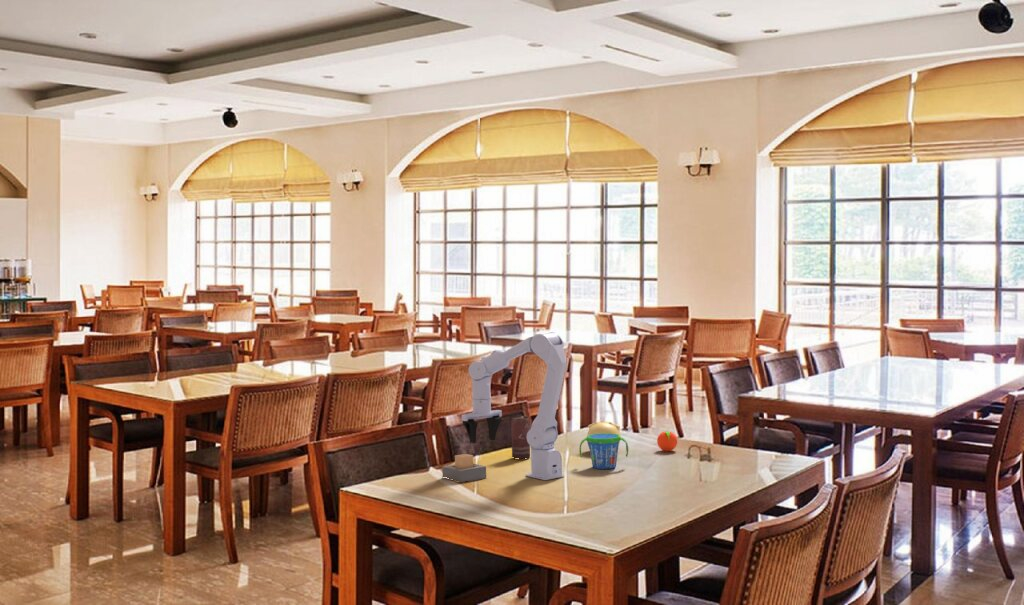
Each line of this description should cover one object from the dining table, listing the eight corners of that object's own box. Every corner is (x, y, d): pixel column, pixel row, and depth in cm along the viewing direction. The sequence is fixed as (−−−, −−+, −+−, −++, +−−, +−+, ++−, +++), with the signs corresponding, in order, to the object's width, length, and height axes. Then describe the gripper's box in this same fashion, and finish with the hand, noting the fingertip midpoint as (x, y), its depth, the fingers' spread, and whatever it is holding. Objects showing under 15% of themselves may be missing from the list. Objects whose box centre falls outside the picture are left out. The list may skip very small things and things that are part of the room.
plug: (473, 475, 303) (473, 455, 303) (462, 477, 301) (462, 457, 300) (465, 473, 306) (465, 453, 306) (455, 475, 304) (454, 455, 304)
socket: (486, 478, 303) (486, 466, 303) (460, 482, 297) (460, 470, 297) (467, 473, 310) (467, 462, 310) (442, 478, 304) (442, 466, 304)
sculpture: (622, 449, 348) (621, 418, 347) (618, 455, 336) (617, 423, 336) (590, 448, 350) (589, 418, 350) (584, 454, 339) (584, 423, 338)
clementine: (679, 453, 337) (679, 432, 337) (659, 453, 337) (658, 432, 337) (675, 449, 345) (675, 428, 345) (656, 449, 345) (655, 429, 345)
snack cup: (577, 470, 312) (577, 438, 312) (582, 463, 322) (581, 432, 322) (627, 471, 309) (626, 438, 309) (630, 464, 319) (629, 433, 319)
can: (530, 456, 337) (530, 415, 337) (529, 460, 331) (528, 418, 330) (513, 456, 338) (512, 415, 337) (511, 460, 331) (510, 418, 331)
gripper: (492, 395, 321) (493, 437, 322) (455, 399, 312) (456, 442, 313) (505, 397, 316) (506, 439, 316) (468, 401, 307) (469, 445, 307)
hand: (482, 441), depth 314 cm, fingers open, 7 cm apart
